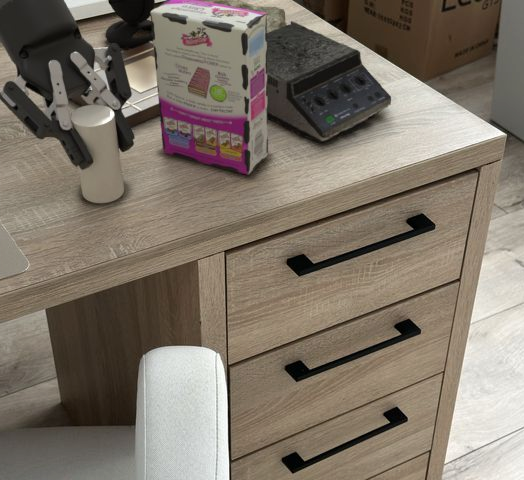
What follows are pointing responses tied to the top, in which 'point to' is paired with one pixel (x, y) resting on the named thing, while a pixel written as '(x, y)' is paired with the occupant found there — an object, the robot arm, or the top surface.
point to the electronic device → (318, 84)
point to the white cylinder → (99, 153)
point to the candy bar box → (212, 83)
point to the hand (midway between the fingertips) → (108, 156)
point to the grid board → (136, 84)
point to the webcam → (130, 23)
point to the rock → (273, 13)
